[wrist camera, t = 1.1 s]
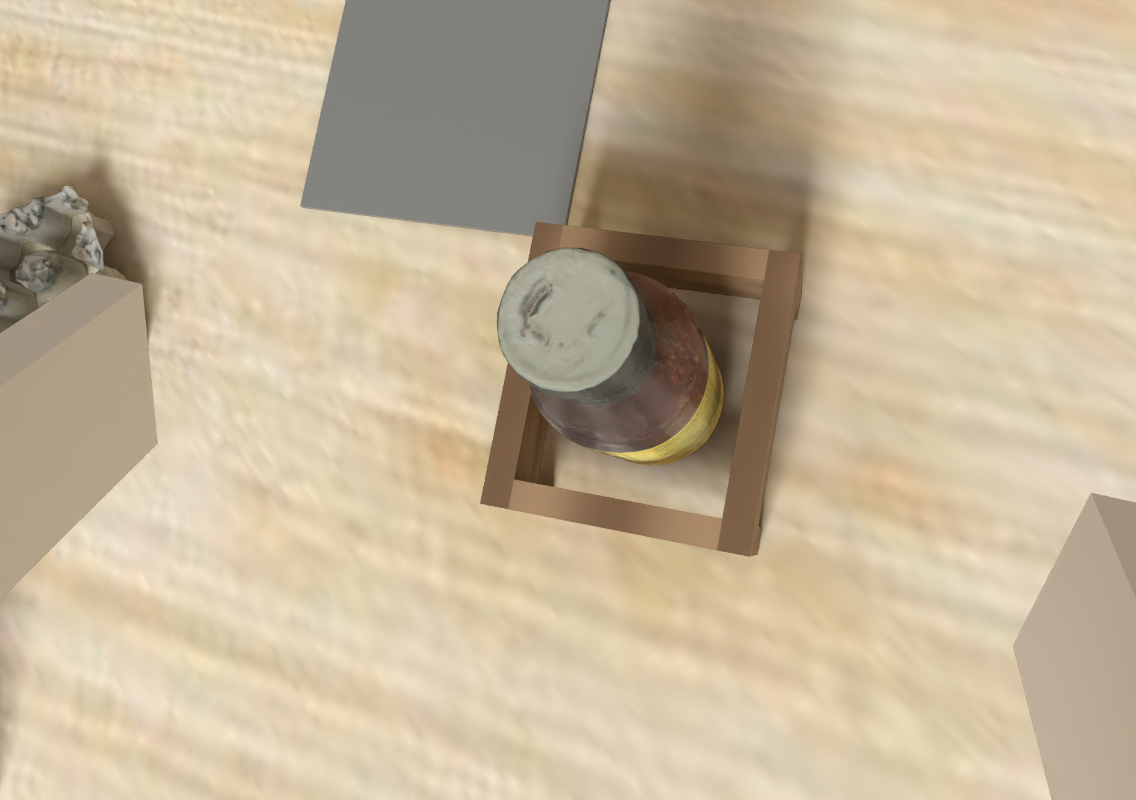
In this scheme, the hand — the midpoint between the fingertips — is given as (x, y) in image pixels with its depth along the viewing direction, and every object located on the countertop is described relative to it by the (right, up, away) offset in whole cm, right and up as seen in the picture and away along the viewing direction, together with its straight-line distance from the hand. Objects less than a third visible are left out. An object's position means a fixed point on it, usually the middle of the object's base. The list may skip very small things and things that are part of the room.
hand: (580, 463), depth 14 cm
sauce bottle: (+4, +1, +32) cm, 33 cm away
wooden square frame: (+4, +1, +32) cm, 32 cm away
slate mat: (-6, +16, +37) cm, 41 cm away
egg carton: (-26, +6, +41) cm, 49 cm away
